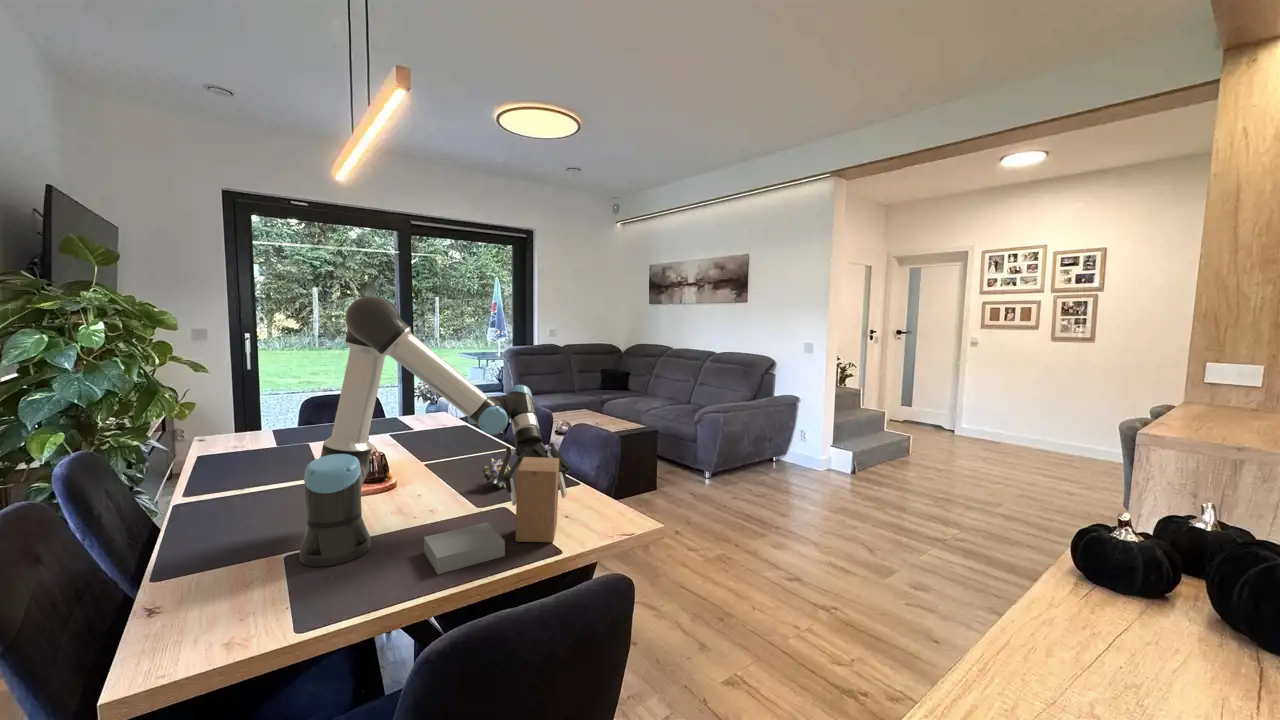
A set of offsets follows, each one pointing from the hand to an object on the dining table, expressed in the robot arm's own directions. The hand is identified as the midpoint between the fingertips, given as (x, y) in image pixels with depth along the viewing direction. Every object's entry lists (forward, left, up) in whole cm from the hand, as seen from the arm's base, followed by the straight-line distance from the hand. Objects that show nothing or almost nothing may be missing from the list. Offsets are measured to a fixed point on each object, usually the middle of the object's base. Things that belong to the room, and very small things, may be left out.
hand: (540, 499), depth 136 cm
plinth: (-20, +1, -10) cm, 22 cm away
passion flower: (+4, +45, -11) cm, 46 cm away
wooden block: (0, +1, -10) cm, 10 cm away
